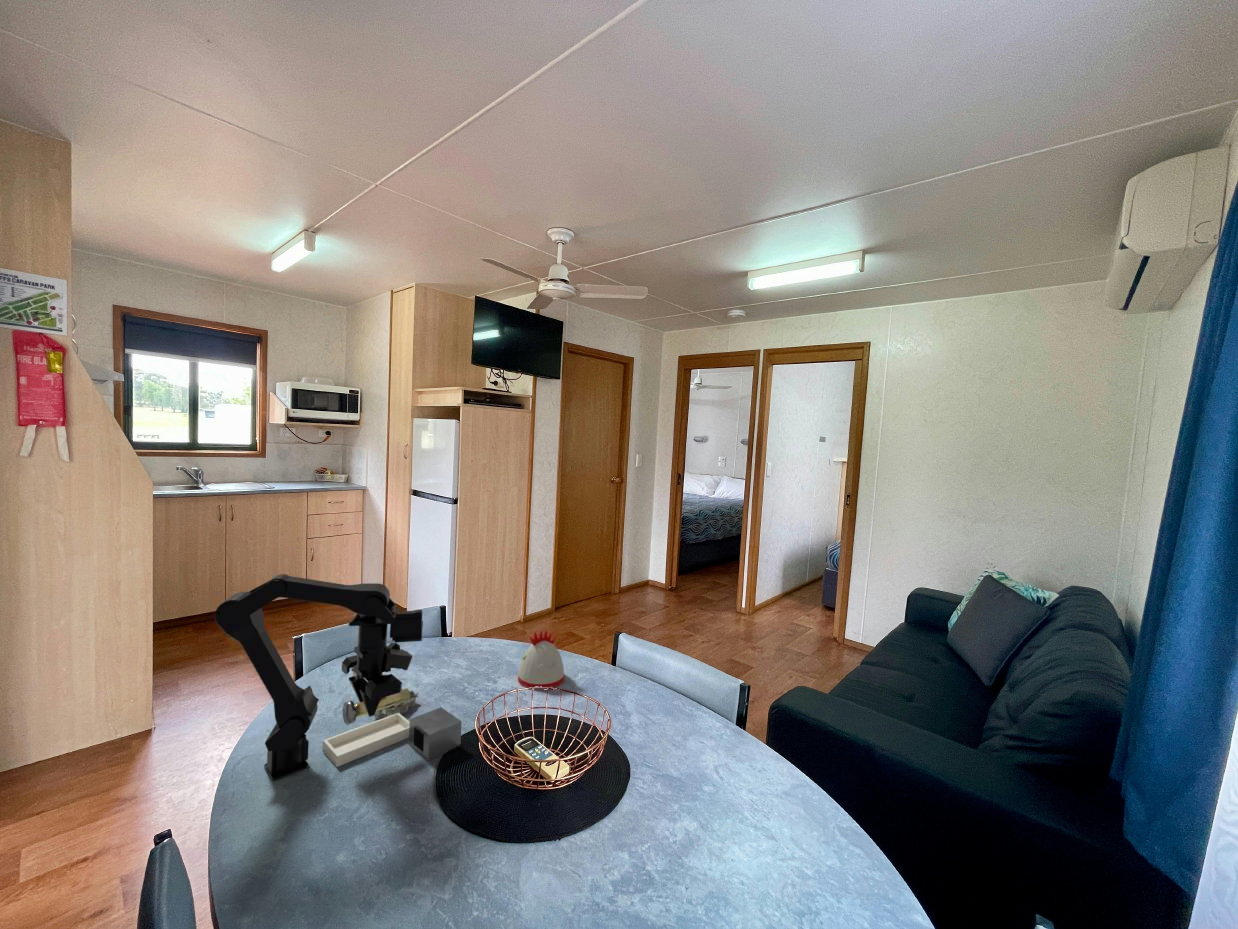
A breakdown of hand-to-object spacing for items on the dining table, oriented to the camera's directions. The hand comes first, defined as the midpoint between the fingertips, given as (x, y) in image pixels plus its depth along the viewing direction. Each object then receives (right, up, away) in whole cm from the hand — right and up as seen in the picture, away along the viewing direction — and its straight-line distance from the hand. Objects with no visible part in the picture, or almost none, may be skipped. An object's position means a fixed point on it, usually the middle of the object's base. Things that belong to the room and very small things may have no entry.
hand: (368, 712), depth 112 cm
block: (+12, -10, +6) cm, 17 cm away
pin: (+1, -1, +1) cm, 2 cm away
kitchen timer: (+32, -11, +42) cm, 54 cm away
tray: (-2, -10, +5) cm, 11 cm away
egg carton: (-3, -10, +20) cm, 23 cm away
